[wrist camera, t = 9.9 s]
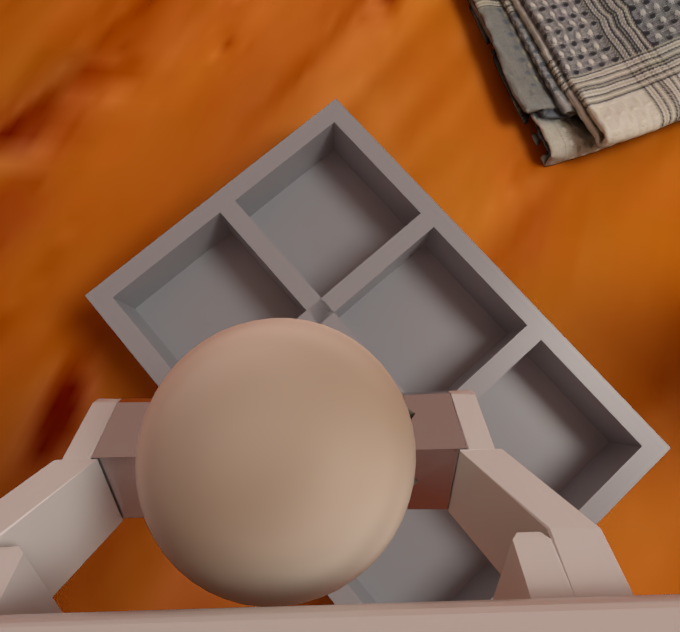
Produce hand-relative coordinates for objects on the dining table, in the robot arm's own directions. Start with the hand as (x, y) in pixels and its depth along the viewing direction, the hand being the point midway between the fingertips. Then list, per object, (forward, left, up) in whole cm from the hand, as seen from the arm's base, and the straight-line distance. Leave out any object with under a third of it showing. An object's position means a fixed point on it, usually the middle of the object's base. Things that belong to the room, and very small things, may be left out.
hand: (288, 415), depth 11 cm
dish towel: (-7, +32, -19) cm, 37 cm away
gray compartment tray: (0, +4, -18) cm, 18 cm away
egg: (0, 0, -5) cm, 5 cm away
